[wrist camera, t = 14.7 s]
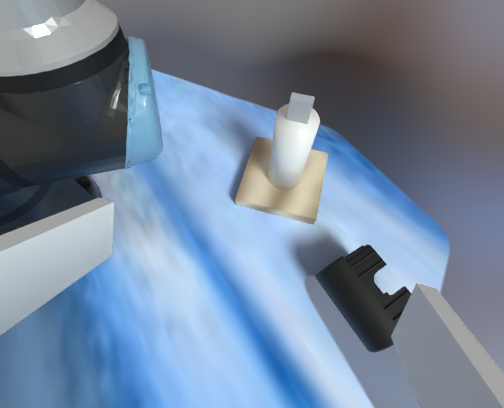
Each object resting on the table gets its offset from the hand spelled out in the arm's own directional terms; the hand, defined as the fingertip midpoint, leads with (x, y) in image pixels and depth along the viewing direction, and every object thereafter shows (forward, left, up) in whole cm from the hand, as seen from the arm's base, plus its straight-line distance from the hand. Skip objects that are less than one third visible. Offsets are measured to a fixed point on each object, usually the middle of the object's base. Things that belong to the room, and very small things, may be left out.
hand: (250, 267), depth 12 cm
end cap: (+13, +6, -26) cm, 30 cm away
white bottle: (0, +21, -24) cm, 31 cm away
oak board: (0, +21, -26) cm, 33 cm away
